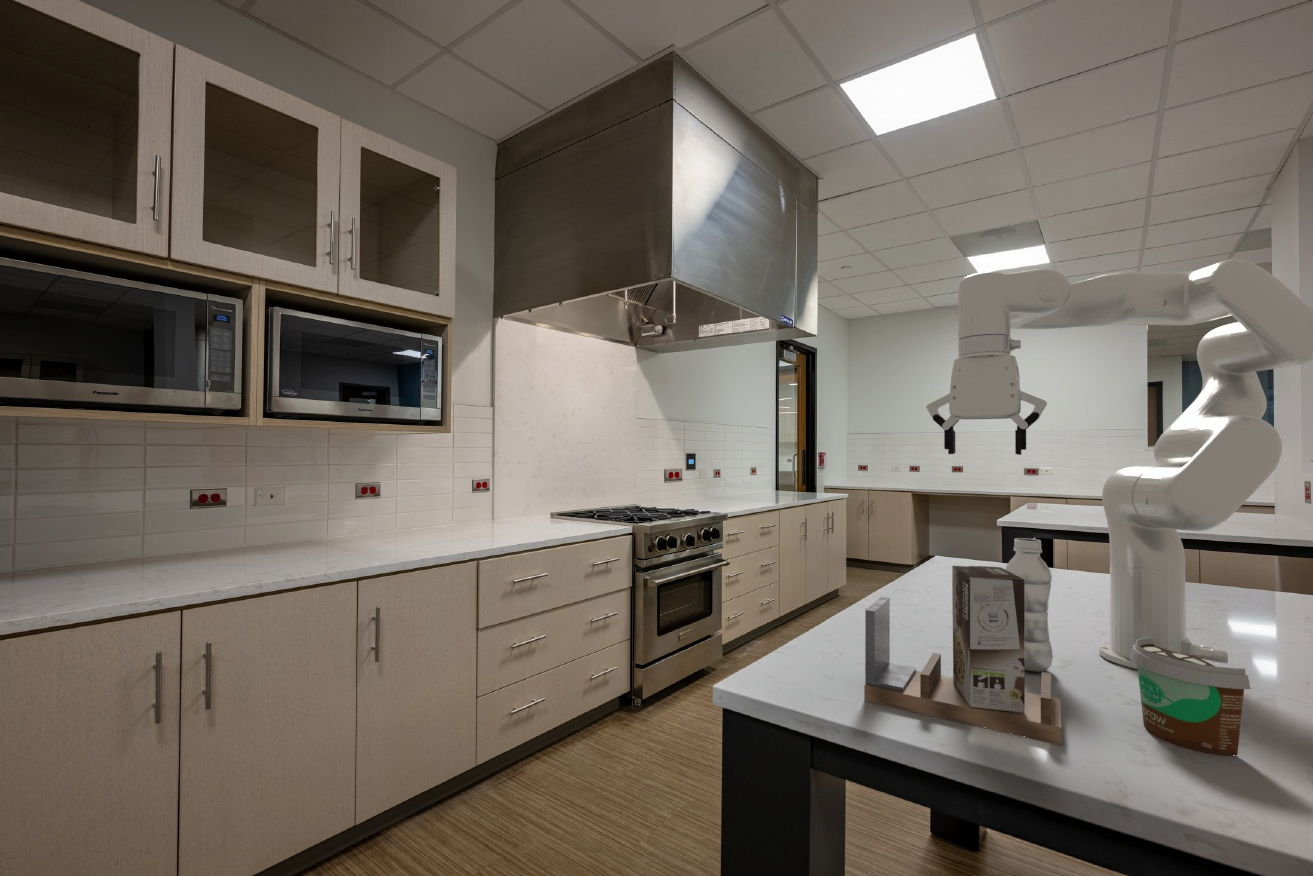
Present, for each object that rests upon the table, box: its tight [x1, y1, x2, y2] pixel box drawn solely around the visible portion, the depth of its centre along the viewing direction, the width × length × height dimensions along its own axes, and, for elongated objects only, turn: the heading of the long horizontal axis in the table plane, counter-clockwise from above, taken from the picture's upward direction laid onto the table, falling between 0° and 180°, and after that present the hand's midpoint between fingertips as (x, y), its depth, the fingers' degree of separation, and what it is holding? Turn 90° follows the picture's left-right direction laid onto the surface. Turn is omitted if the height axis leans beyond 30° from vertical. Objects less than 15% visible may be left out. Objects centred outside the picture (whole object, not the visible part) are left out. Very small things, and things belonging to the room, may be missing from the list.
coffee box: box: [951, 565, 1026, 713], centre depth 78 cm, size 9×6×16 cm
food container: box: [1130, 637, 1251, 757], centre depth 72 cm, size 12×6×10 cm, turn 5°
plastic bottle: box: [1004, 537, 1054, 672], centre depth 94 cm, size 6×7×20 cm
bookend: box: [864, 596, 917, 692], centre depth 84 cm, size 5×9×10 cm, turn 147°
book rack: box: [863, 652, 1063, 746], centre depth 79 cm, size 22×10×5 cm, turn 57°
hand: (984, 454), depth 99 cm, fingers open, 9 cm apart
